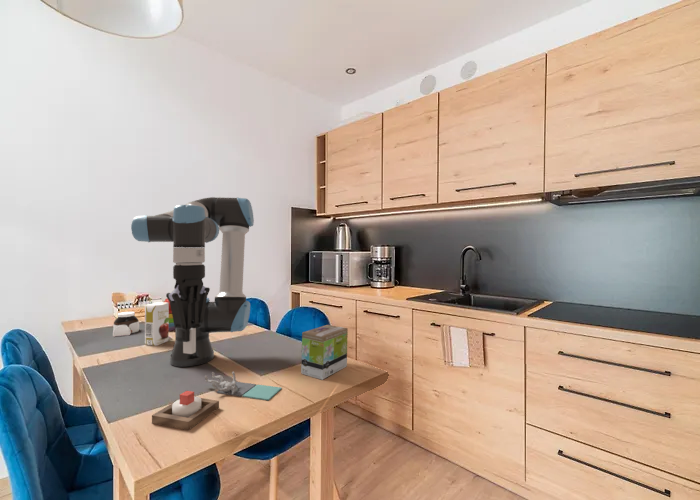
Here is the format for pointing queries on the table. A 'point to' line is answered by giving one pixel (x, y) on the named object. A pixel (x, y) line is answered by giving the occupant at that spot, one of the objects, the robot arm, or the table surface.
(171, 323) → the stacking bear
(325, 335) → the tea box
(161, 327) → the juice carton
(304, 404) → the table surface
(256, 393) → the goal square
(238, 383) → the dark grey square tile
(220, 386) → the soldier figure
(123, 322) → the spread jar
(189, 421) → the frame
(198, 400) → the white and red button
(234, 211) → the robot arm
